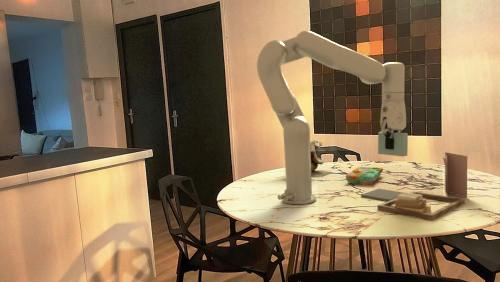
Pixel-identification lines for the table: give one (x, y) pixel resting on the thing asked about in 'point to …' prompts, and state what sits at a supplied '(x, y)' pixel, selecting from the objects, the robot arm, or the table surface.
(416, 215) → the brown wooden frame
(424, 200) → the offcut mid
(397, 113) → the robot arm
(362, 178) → the puzzle game
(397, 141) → the pale teal block
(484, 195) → the table surface
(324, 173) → the cherub figurine
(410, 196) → the offcut small
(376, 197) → the mat
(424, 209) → the offcut large
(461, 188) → the greeting card
